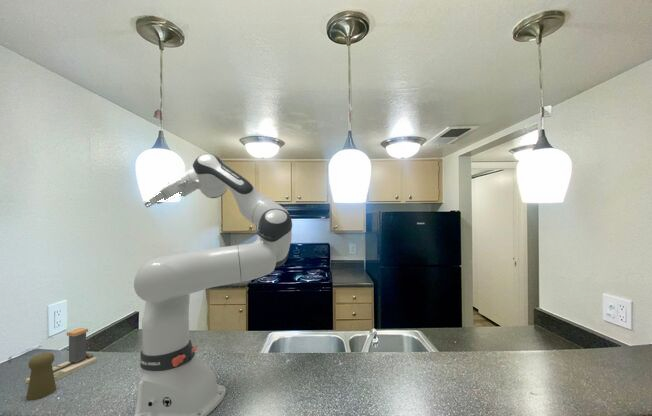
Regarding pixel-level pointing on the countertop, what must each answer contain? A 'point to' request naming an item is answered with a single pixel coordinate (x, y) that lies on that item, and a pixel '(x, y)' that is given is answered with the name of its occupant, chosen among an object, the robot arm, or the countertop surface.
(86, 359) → the fader board
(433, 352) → the countertop surface
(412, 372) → the countertop surface
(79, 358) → the fader knob
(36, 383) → the cork
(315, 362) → the countertop surface
